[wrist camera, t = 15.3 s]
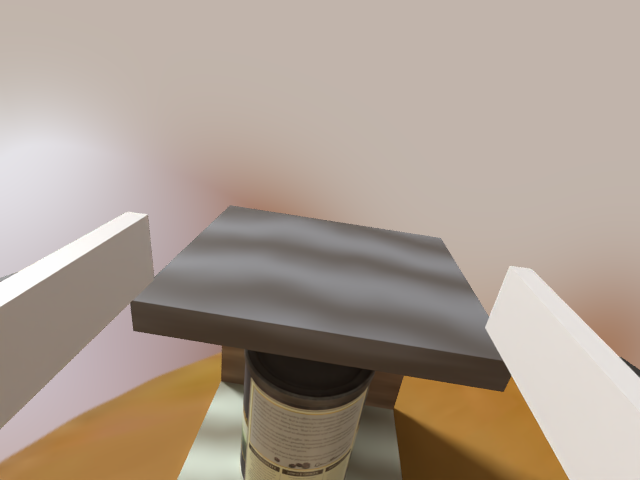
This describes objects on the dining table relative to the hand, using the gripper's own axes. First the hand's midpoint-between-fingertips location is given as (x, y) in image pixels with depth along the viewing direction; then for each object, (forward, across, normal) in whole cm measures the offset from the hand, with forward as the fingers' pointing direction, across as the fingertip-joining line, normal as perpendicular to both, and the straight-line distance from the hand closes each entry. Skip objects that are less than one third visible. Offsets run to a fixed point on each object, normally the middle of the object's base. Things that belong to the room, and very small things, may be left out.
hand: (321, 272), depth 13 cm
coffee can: (+10, 0, -26) cm, 28 cm away
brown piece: (+11, 0, -27) cm, 29 cm away
